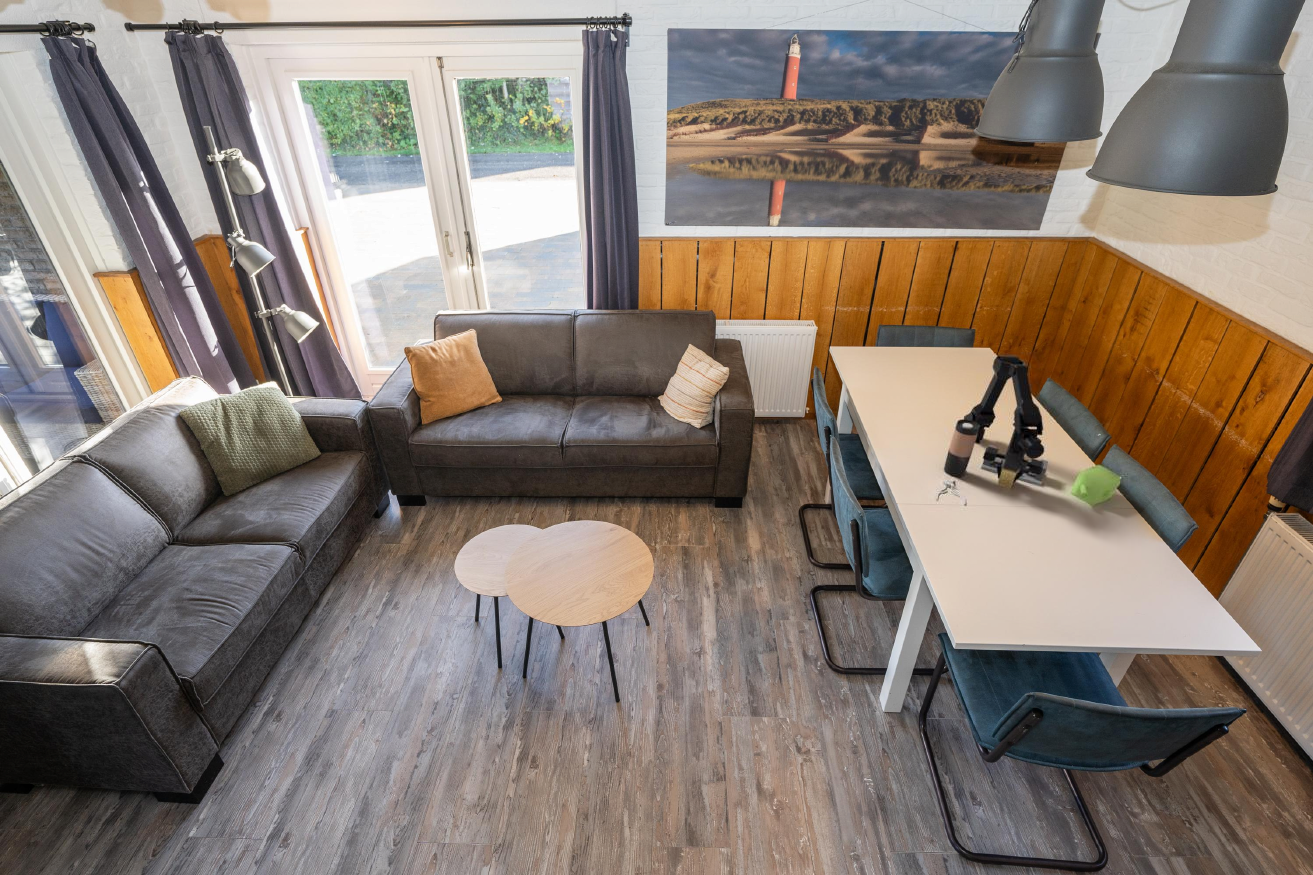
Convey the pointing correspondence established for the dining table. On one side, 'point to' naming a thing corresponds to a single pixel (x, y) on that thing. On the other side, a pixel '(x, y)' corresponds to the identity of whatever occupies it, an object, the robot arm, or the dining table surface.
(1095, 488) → the green lump
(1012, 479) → the banded gold block
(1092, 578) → the dining table surface
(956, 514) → the dining table surface
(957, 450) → the travel mug
